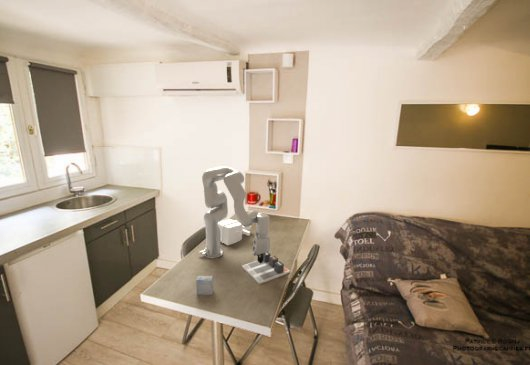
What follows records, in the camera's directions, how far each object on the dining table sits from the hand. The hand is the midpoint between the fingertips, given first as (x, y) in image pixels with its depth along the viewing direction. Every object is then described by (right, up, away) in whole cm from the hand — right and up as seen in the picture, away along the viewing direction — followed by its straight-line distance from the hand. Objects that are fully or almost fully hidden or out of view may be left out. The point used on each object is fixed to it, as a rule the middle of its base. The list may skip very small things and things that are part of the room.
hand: (260, 261), depth 152 cm
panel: (+3, -5, +1) cm, 6 cm away
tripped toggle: (+8, -3, +4) cm, 10 cm away
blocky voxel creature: (-21, +5, +43) cm, 48 cm away
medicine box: (-29, -10, -21) cm, 37 cm away
